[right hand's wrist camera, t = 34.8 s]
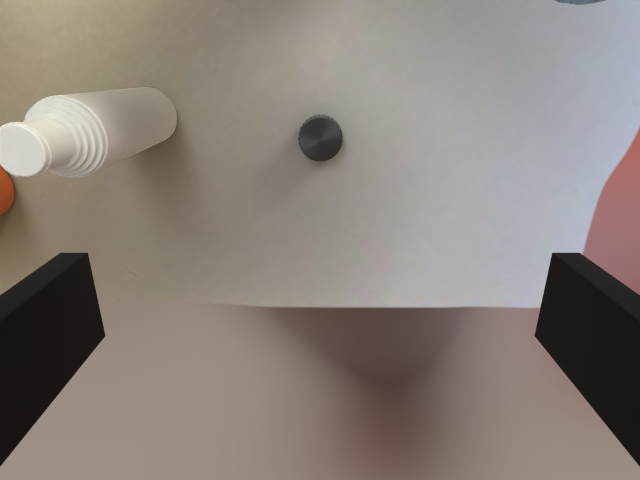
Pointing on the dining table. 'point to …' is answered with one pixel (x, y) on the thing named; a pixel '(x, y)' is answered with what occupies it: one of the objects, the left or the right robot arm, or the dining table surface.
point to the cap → (320, 138)
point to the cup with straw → (5, 191)
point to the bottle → (86, 131)
